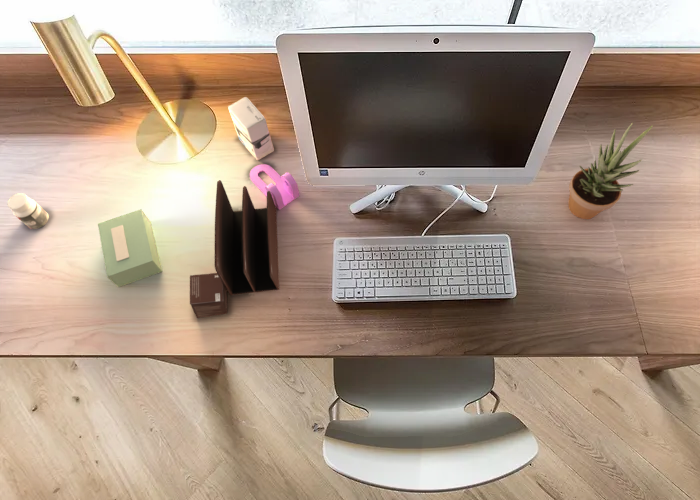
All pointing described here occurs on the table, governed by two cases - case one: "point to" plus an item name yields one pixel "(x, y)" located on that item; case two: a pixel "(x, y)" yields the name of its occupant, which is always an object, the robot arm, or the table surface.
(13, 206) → the pill bottle
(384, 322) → the table surface
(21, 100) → the table surface
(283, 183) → the bracket
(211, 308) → the box
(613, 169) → the potted plant
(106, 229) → the tissue box
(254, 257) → the letter holder
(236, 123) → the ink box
